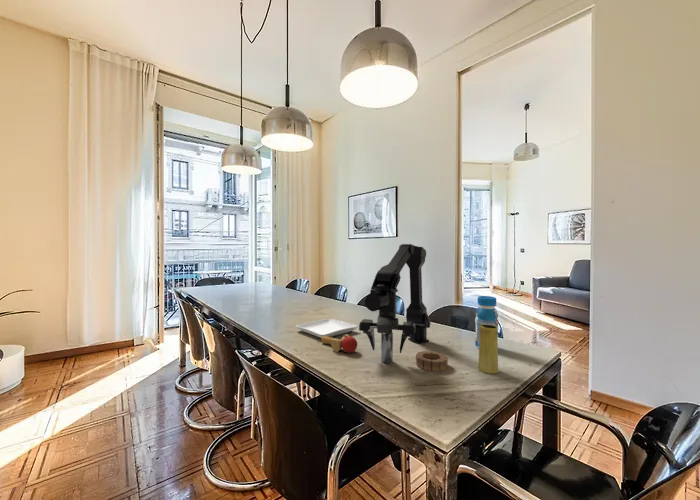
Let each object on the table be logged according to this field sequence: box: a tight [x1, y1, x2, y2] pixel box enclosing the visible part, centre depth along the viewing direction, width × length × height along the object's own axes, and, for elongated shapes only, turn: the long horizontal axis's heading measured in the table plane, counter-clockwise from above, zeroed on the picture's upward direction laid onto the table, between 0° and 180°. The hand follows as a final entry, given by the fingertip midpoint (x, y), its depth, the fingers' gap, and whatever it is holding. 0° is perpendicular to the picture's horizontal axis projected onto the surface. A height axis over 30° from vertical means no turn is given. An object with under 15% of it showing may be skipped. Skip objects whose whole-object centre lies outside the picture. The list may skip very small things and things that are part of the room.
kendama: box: [320, 333, 358, 354], centre depth 118 cm, size 8×6×18 cm
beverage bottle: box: [474, 295, 499, 349], centre depth 119 cm, size 8×8×20 cm
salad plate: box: [295, 317, 359, 339], centre depth 140 cm, size 21×21×3 cm
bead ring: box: [415, 350, 449, 372], centre depth 102 cm, size 10×10×3 cm
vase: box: [477, 324, 500, 375], centre depth 98 cm, size 6×6×14 cm
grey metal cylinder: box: [380, 331, 394, 365], centre depth 104 cm, size 4×4×10 cm
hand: (387, 351), depth 104 cm, fingers open, 9 cm apart
